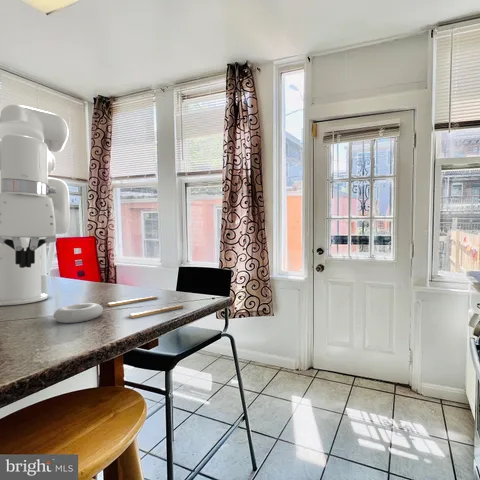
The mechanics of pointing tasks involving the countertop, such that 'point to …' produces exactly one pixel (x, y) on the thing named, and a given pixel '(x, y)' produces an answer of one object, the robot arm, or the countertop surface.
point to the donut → (78, 312)
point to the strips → (145, 311)
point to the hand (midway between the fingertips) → (25, 267)
